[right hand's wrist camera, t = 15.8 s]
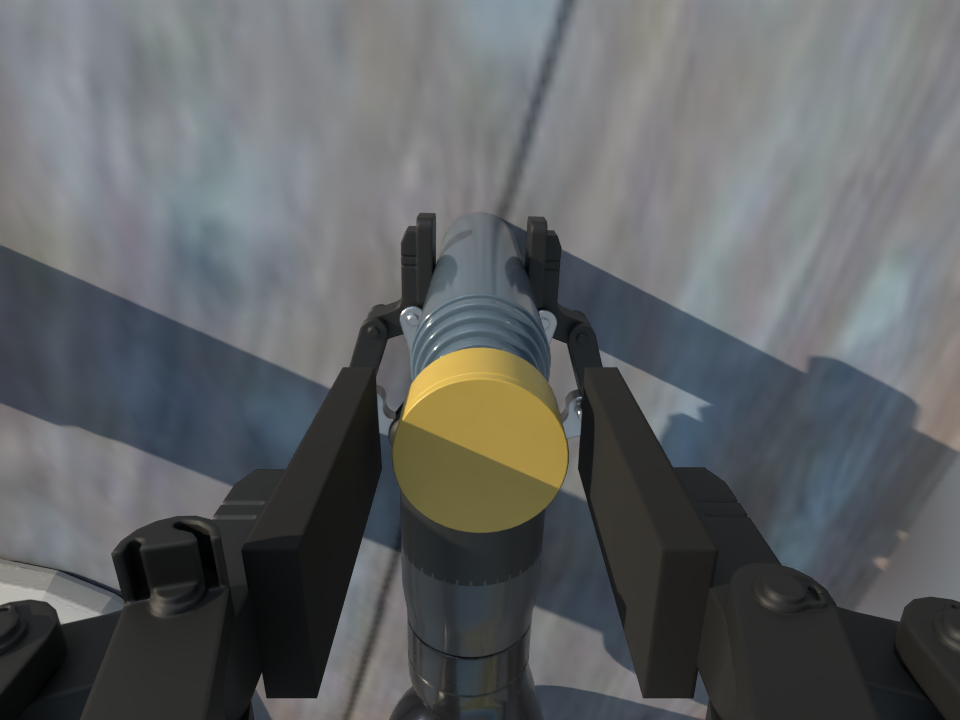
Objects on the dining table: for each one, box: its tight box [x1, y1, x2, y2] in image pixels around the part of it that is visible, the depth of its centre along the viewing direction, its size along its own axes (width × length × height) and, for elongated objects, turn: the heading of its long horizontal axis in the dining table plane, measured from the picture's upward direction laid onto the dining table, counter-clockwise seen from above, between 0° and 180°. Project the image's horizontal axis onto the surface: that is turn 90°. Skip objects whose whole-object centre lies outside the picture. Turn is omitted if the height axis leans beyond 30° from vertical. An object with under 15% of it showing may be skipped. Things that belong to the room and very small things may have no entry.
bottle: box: [410, 213, 551, 382], centre depth 24 cm, size 4×4×22 cm
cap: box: [392, 348, 569, 533], centre depth 14 cm, size 4×4×2 cm
